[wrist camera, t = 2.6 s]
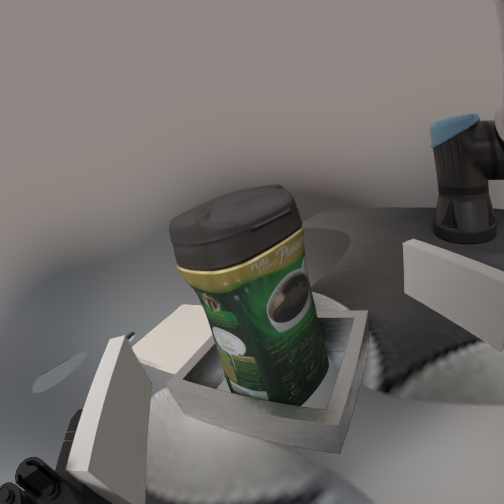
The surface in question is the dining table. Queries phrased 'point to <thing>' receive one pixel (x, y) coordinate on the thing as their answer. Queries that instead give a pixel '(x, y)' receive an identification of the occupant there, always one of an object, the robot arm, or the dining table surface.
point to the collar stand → (277, 414)
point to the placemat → (174, 339)
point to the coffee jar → (255, 291)
